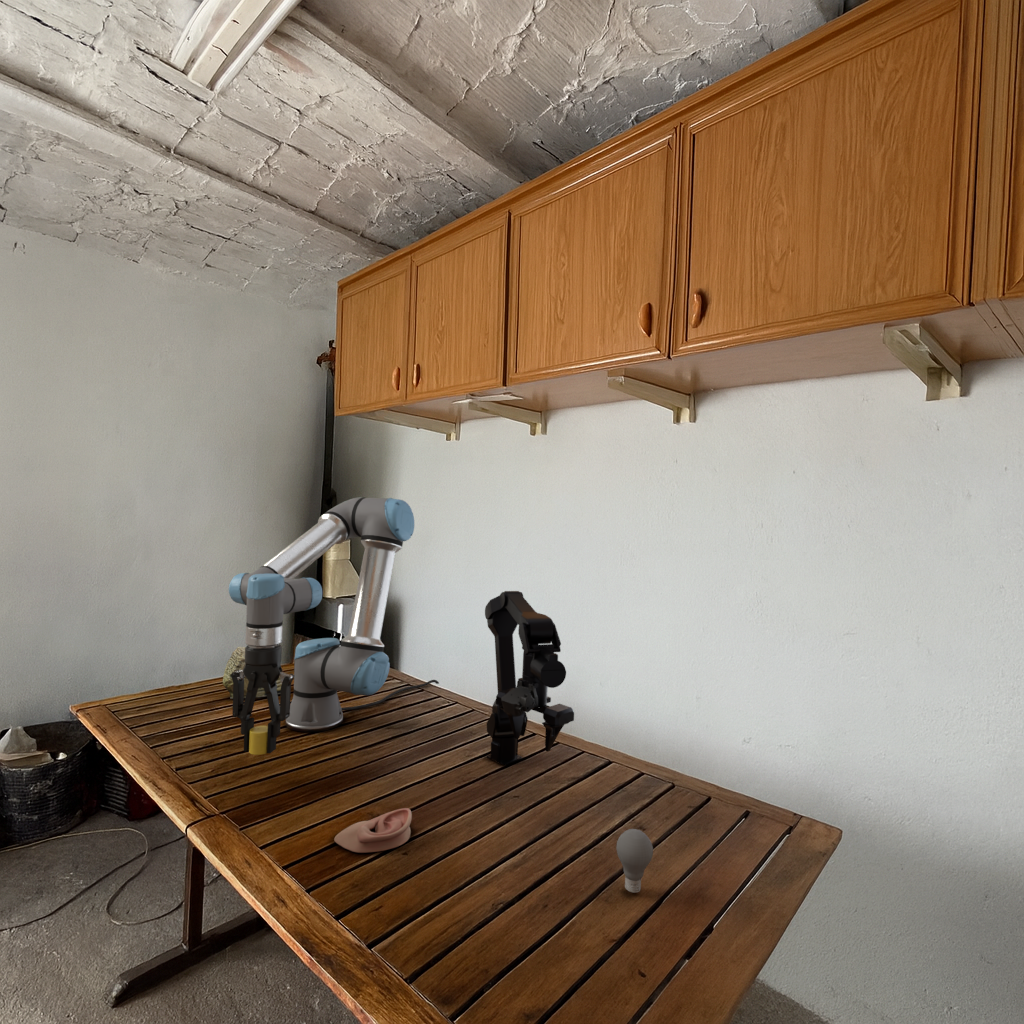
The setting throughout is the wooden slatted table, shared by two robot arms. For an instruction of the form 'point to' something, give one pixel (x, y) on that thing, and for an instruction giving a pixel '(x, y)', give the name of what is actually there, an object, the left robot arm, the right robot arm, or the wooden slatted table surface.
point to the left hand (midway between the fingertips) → (259, 749)
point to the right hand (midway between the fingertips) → (532, 744)
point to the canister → (258, 740)
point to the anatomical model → (377, 832)
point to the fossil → (238, 663)
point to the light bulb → (634, 857)
